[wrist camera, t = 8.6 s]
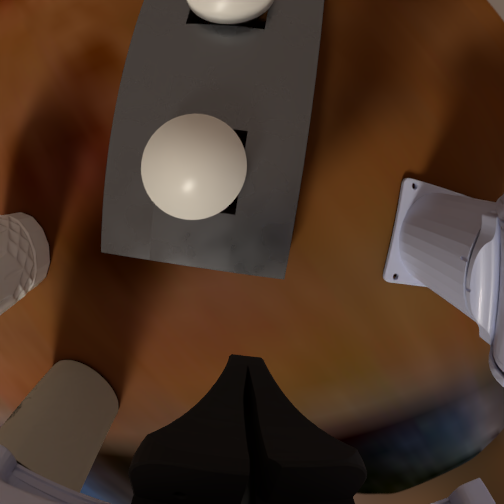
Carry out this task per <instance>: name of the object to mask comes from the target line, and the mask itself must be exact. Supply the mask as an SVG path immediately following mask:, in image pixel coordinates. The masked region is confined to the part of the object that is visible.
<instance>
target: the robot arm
mask: <svg viewBox="0 0 504 504" xmlns="http://www.w3.org/2000/svg"><path fill="white" fill-rule="evenodd" d="M413 183H414V184H415V188H414V189H413V188H412V184H413ZM394 274H396V277H395V278H393V275H394ZM383 278H384V280H385V281H387V282H392V283H400V284H408V285H416V286H424V287H428V288H430V289H431V290H433V291H434V292H435V293H437V294H438V295H440V296H441V297H443V298H444V299H445V300H447V301H448V302H449V303H451V304H452V305H454V306H455V307H456V308H458V309H459V310H460V311H462V312H463V313H464V314H466V315H467V316H468V317H470V318H471V319H472V320H474V321H475V322H476V323H477V324H478V326H479V331H480V332H479V336H480V337H481V338H482V339H484V340H485V341H486V342H487V343H488V344H490V345H491V347H490V353H489V366H490V370H491V372H492V374H493V376H494V377H495V379H496V380H497V381H498V382H499V383H500V384H501V385H502V386H503V387H504V193H503V195H502V196H501V197H500V198H499V199H498V200H497V201H496V202H491V201H486V200H481V199H475V198H471V197H468V196H465V195H463V194H460V193H457V192H454V191H451V190H448V189H445V188H442V187H438V186H435V185H432V184H429V183H425V182H422V181H419V180H415V179H412V178H405V179H403V181H402V185H401V191H400V197H399V202H398V208H397V213H396V219H395V224H394V229H393V233H392V238H391V243H390V247H389V251H388V256H387V260H386V264H385V268H384V272H383ZM366 478H367V471H366V468H365V465H364V463H363V460H362V458H361V456H360V454H359V453H358V450H357V449H356V448H353V447H351V446H349V445H347V444H345V443H343V442H341V441H339V440H337V439H335V438H334V437H332V436H330V435H329V434H327V433H326V432H324V431H323V430H321V429H320V428H318V427H317V426H316V425H314V424H313V423H312V422H311V421H309V420H308V419H307V418H306V417H305V416H304V415H302V414H301V413H300V412H299V411H298V410H297V409H296V408H295V407H294V406H293V404H292V403H291V402H290V401H289V400H288V398H287V397H286V396H285V395H284V393H283V392H282V391H281V389H280V388H279V386H278V385H277V383H276V382H275V380H274V379H273V377H272V375H271V374H270V372H269V370H268V368H267V366H266V365H265V363H264V360H263V359H262V358H259V357H250V356H241V355H233V354H232V355H230V356H229V360H228V363H227V365H226V367H225V369H224V371H223V372H222V374H221V375H220V377H219V379H218V380H217V382H216V383H215V384H214V385H213V387H212V388H211V389H210V390H209V392H208V393H207V394H206V395H205V396H204V397H203V398H202V399H201V400H200V401H199V402H198V403H197V404H196V405H195V406H194V407H193V408H191V409H190V410H189V411H188V412H187V413H185V414H184V415H183V416H181V417H180V418H178V419H176V420H175V421H173V422H172V423H170V424H169V425H167V426H165V427H163V428H161V429H159V430H157V431H155V432H152V433H150V434H148V435H147V436H146V437H145V439H144V440H143V441H142V443H141V444H140V446H139V447H138V449H137V451H136V453H135V455H134V457H133V459H132V462H131V465H130V468H129V479H130V483H131V486H132V490H133V493H134V496H133V499H132V502H131V504H355V503H354V499H353V496H354V495H355V494H356V492H357V491H358V490H359V489H360V487H361V486H362V485H363V483H364V481H365V480H366ZM0 504H110V503H107V502H104V501H101V500H98V499H95V498H93V497H90V496H87V495H84V494H82V493H79V492H77V491H74V490H72V489H69V488H67V487H65V486H62V485H60V484H58V483H55V482H53V481H51V480H49V479H47V478H45V477H43V476H41V475H39V474H37V473H35V472H33V471H31V470H29V469H27V468H25V467H23V466H21V465H20V464H18V463H17V461H16V459H15V457H14V455H13V454H12V453H11V452H10V451H9V450H8V449H7V448H6V447H4V446H3V445H1V444H0ZM431 504H496V503H495V501H494V500H493V498H492V496H491V495H490V493H489V491H488V490H487V488H486V487H485V485H484V483H483V482H482V480H481V479H480V478H477V479H475V480H472V481H470V482H468V483H465V484H463V485H461V486H459V487H458V488H456V489H455V490H454V491H453V492H452V493H451V494H450V496H449V497H448V498H446V499H443V500H440V501H437V502H434V503H431Z"/></svg>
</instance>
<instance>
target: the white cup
mask: <svg viewBox="0 0 504 504" xmlns="http://www.w3.org/2000/svg"><path fill="white" fill-rule="evenodd" d="M49 264H50V255H49V244H48V241H47V239H46V236H45V233H44V231H43V228H42V227H41V226H40V225H39V224H38V222H37V221H36V220H35V219H34V218H33V217H32V216H30V215H27V214H25V213H22V212H18V213H13V214H7V215H0V315H1V314H2V313H4V312H5V311H6V310H8V309H9V308H10V307H11V306H13V305H14V304H15V303H16V302H17V301H19V300H20V299H21V298H23V297H24V296H25V295H26V294H27V292H29V291H30V290H32V289H33V288H35V287H36V286H37V285H38V284H39V283H40V282H41V281H42V280H43V279H44V278H45V277H46V275H47V271H48V268H49Z"/></svg>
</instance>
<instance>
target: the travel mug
mask: <svg viewBox="0 0 504 504" xmlns="http://www.w3.org/2000/svg"><path fill="white" fill-rule="evenodd" d="M117 412H118V400H117V397H116V395H115V393H114V391H113V389H112V388H111V386H110V385H109V384H108V383H107V381H106V380H105V379H104V378H103V377H102V376H101V375H99V374H98V373H97V372H96V371H94V370H93V369H91V368H90V367H88V366H86V365H84V364H82V363H80V362H77V361H73V360H61V361H59V362H57V363H56V364H55V365H54V366H53V367H52V368H51V369H50V370H49V371H48V372H47V373H46V375H45V376H44V377H43V378H42V379H41V380H40V381H39V383H38V384H37V385H36V386H35V387H34V388H33V390H32V391H31V392H30V393H29V394H28V395H27V397H26V398H25V399H24V400H23V401H22V402H21V404H20V405H19V406H18V407H17V408H16V410H15V411H14V412H13V413H12V415H11V416H10V417H9V418H8V419H7V421H6V422H5V423H4V424H3V426H2V427H1V428H0V444H1V445H3V446H4V447H6V448H7V449H8V450H9V451H10V452H11V453H12V454H13V455H14V457H15V459H16V461H17V463H18V464H20V465H21V466H23V467H25V468H27V469H29V470H31V471H33V472H35V473H37V474H39V475H41V476H43V477H45V478H47V479H49V480H51V481H53V482H55V483H58V484H60V485H62V486H65V487H67V488H69V489H72V490H74V491H77V492H79V493H80V491H81V488H82V486H83V484H84V482H85V480H86V477H87V475H88V473H89V471H90V469H91V466H92V464H93V462H94V460H95V458H96V456H97V454H98V451H99V449H100V447H101V445H102V443H103V441H104V439H105V437H106V435H107V433H108V431H109V429H110V426H111V424H112V422H113V420H114V418H115V416H116V414H117Z"/></svg>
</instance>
